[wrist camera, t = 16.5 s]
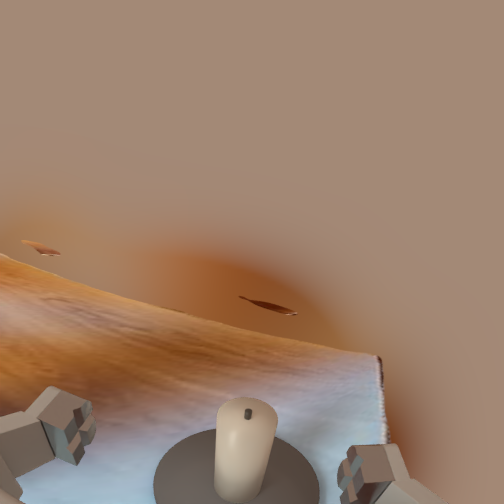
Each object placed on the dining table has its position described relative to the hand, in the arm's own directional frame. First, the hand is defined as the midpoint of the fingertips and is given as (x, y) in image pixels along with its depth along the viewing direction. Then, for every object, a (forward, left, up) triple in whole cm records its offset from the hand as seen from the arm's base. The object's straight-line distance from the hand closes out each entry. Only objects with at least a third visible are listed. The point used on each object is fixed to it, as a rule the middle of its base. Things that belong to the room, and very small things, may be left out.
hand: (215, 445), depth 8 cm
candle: (-7, +11, -24) cm, 27 cm away
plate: (-7, +11, -25) cm, 28 cm away
